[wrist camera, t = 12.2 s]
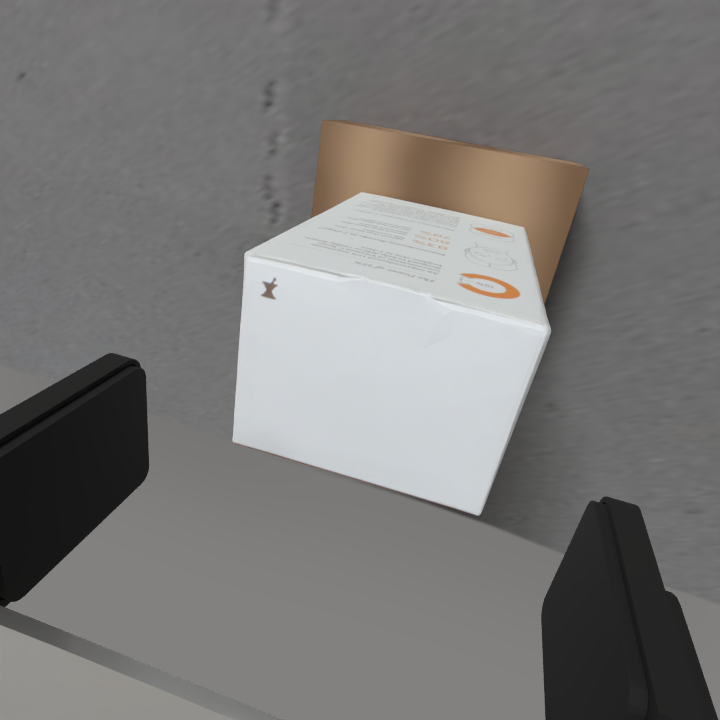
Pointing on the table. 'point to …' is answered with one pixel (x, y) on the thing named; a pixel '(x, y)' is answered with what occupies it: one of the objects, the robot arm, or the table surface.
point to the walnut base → (453, 182)
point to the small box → (391, 346)
